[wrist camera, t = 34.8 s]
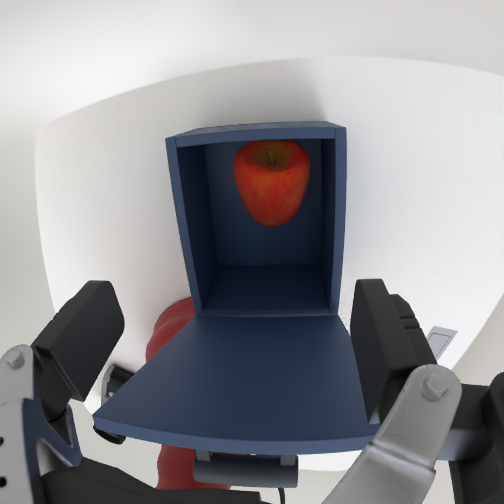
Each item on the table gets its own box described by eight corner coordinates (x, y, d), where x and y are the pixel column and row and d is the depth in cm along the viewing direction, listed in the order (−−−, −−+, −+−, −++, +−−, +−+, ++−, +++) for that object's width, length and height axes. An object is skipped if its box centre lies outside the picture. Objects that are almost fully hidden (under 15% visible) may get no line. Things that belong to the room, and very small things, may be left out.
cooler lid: (91, 414, 10) (119, 487, 11) (401, 430, 9) (377, 504, 9) (194, 315, 27) (199, 366, 27) (338, 314, 25) (335, 366, 26)
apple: (283, 182, 31) (283, 120, 25) (319, 221, 28) (328, 157, 22) (228, 205, 30) (218, 142, 23) (259, 249, 26) (255, 186, 20)
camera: (86, 400, 36) (145, 431, 37) (114, 358, 45) (166, 384, 46) (89, 438, 44) (134, 461, 45) (108, 403, 53) (150, 424, 54)
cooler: (196, 128, 28) (164, 138, 20) (327, 121, 26) (346, 127, 19) (214, 268, 35) (195, 317, 27) (326, 266, 33) (337, 315, 26)
